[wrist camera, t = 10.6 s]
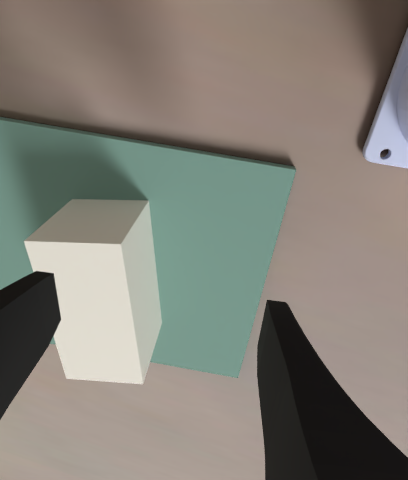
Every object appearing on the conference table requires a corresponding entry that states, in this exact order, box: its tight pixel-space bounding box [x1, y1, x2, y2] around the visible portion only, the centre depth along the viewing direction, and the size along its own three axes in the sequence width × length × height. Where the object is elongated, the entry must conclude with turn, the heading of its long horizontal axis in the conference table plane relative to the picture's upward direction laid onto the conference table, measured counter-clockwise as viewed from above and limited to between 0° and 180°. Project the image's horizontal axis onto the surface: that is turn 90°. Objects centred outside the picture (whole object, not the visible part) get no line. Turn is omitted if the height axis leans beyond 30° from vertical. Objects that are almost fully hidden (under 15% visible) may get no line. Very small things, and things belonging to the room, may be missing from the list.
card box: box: [24, 199, 162, 384], centre depth 20 cm, size 9×4×5 cm, turn 2°
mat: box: [0, 117, 296, 378], centre depth 22 cm, size 18×16×1 cm
